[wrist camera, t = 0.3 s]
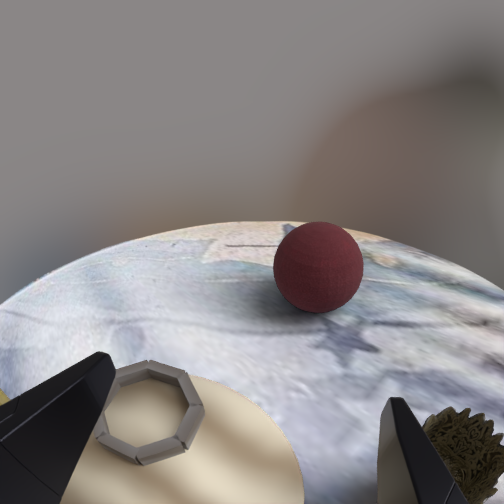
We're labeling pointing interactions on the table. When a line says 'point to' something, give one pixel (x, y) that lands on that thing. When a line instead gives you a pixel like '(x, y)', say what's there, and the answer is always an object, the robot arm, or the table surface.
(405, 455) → the robot arm
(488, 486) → the cup
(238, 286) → the table surface
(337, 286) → the decorative ball
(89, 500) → the disc
